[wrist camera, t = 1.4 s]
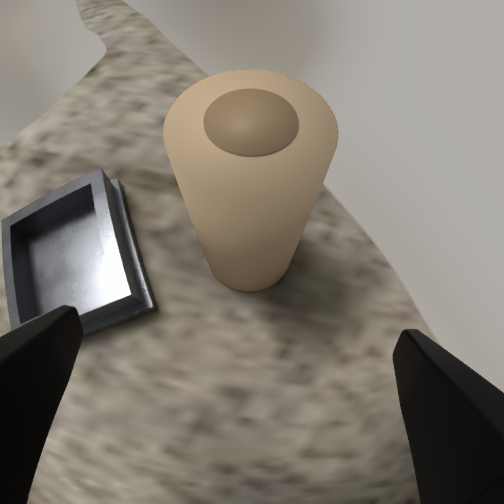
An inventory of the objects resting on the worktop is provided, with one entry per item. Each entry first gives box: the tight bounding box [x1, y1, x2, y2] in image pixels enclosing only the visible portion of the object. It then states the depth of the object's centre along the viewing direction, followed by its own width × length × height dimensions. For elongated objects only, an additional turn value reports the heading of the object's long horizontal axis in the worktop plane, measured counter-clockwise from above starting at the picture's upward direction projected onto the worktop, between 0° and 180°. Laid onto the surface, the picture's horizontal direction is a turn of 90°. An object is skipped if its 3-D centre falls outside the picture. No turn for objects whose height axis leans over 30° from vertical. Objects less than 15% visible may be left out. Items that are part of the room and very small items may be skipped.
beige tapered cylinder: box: [163, 69, 338, 292], centre depth 16 cm, size 6×6×13 cm
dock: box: [2, 168, 157, 337], centre depth 20 cm, size 11×11×4 cm
